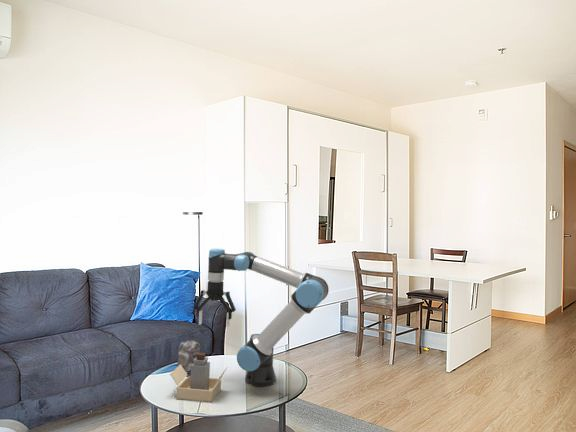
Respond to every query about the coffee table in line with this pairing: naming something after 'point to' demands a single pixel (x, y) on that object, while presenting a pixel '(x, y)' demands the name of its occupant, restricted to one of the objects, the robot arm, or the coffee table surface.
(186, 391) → the carton
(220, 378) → the flap
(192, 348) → the figurine
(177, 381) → the flap
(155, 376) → the coffee table surface
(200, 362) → the perfume bottle
